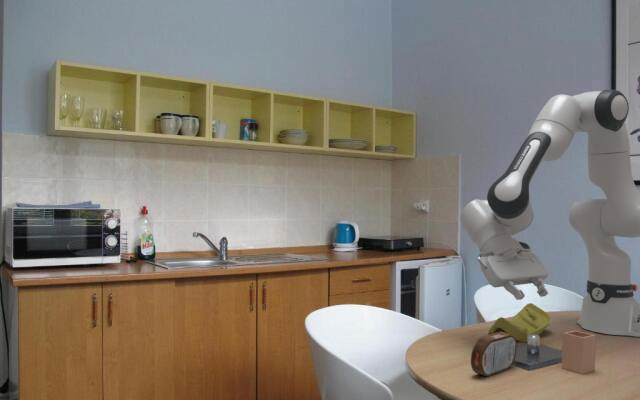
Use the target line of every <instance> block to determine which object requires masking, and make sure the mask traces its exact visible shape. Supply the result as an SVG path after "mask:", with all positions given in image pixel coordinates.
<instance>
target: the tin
mask: <svg viewBox="0 0 640 400" xmlns="http://www.w3.org/2000/svg"><path fill="white" fill-rule="evenodd" d="M516 345H518V343H517V339H515V337H514V336H512V335H510V334H508V333H507V332H505V331H500V332H497V333H493V334H489V333H488V334H487V335H486V334H485V335H482V336H481V337H479V338H478V339H477V340H476V342H475V343H474V345H473V348H472V351H471V356H470V364H471V365H470V366H471V369H472V371H473V372H474V374H479V375H481V376H485V377H490V376H493V375H495V374H499V373H502V372H505V371H508V370H509V369H510V368H511V367H512V366H513V365H512V364H513V362H514V360H515V354H516Z"/></svg>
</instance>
